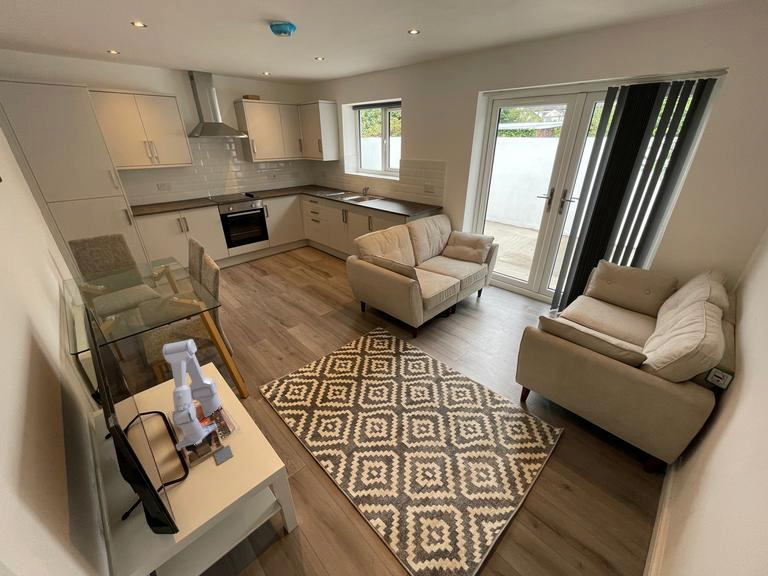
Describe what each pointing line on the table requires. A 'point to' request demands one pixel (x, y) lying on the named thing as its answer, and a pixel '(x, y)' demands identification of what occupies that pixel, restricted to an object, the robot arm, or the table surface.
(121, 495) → the table surface
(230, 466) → the table surface
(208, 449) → the walnut block
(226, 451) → the slate coaster
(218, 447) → the beech tray
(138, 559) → the table surface
